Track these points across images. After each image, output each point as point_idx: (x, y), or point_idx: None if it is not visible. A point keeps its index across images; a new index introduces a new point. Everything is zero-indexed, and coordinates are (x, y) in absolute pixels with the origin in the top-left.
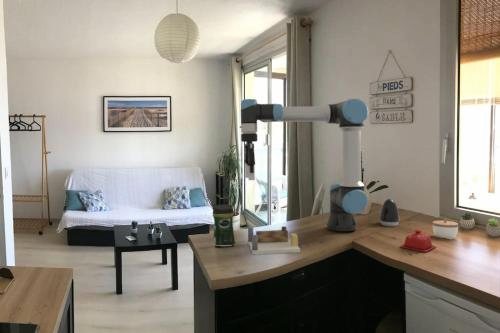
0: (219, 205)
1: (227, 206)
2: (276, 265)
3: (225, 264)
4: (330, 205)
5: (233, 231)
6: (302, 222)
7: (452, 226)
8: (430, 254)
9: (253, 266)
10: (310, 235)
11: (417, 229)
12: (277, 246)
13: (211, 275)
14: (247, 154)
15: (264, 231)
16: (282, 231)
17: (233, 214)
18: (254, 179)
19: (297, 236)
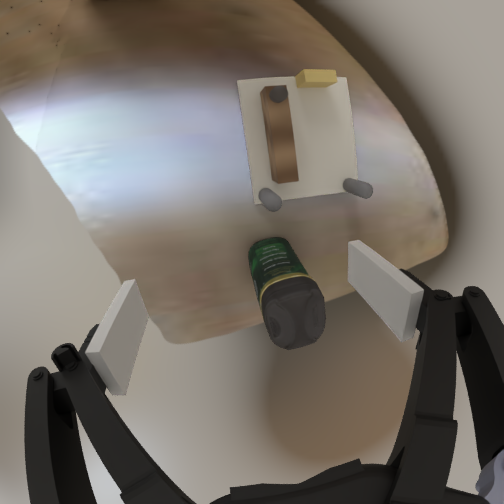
0: (307, 333)
1: (312, 307)
2: (416, 149)
3: (401, 241)
4: None
5: (281, 252)
6: (15, 76)
7: None
8: None
9: (417, 191)
10: (163, 30)
11: None
12: (325, 125)
13: (435, 255)
14: (176, 485)
15: (285, 157)
16: (287, 101)
17: (303, 273)
18: (361, 242)
19: (335, 71)
